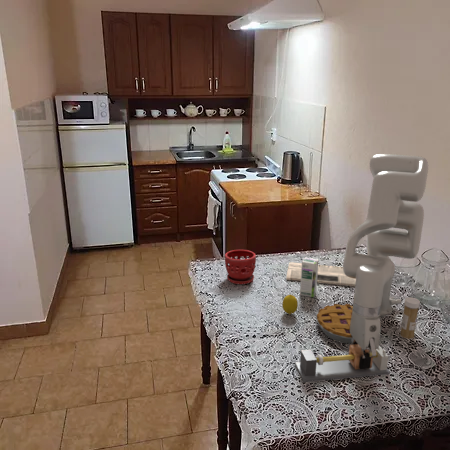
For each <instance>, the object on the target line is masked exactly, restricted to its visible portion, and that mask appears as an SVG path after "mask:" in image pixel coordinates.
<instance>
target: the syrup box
mask: <svg viewBox="0 0 450 450" xmlns="http://www.w3.org/2000/svg"><path fill="white" fill-rule="evenodd" d="M301 261H302V262H301V263H302V268H301V281H300V286H299V287H300V288H299V295H300V296H304V297H309V298H314V297H315V295H316V293H317V287H318V286H317V284H318V283H317V274H318V265H319V259H318V258H311V257H306V256H305V257H304V258H303V260H301Z"/></svg>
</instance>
